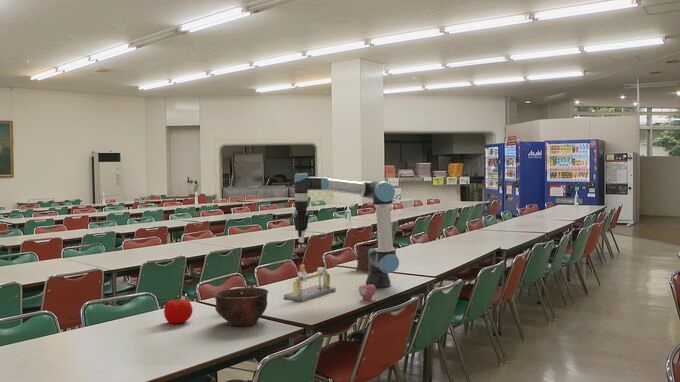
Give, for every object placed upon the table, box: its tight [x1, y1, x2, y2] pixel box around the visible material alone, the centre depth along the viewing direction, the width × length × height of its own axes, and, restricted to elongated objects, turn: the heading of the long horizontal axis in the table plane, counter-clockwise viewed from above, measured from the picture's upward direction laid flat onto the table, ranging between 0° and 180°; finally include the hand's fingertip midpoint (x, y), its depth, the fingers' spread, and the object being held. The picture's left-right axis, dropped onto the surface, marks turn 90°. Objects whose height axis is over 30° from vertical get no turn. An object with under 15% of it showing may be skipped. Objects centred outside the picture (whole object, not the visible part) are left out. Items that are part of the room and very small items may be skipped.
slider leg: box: [297, 264, 308, 293], centre depth 308 cm, size 4×3×16 cm
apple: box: [358, 280, 377, 301], centre depth 301 cm, size 10×9×10 cm
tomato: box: [163, 297, 194, 325], centre depth 263 cm, size 12×13×12 cm
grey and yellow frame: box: [283, 266, 337, 302], centre depth 316 cm, size 14×30×14 cm, turn 144°
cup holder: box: [346, 234, 378, 273], centre depth 392 cm, size 18×24×25 cm
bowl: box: [213, 287, 269, 327], centre depth 260 cm, size 25×25×15 cm
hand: (301, 242), depth 309 cm, fingers closed
